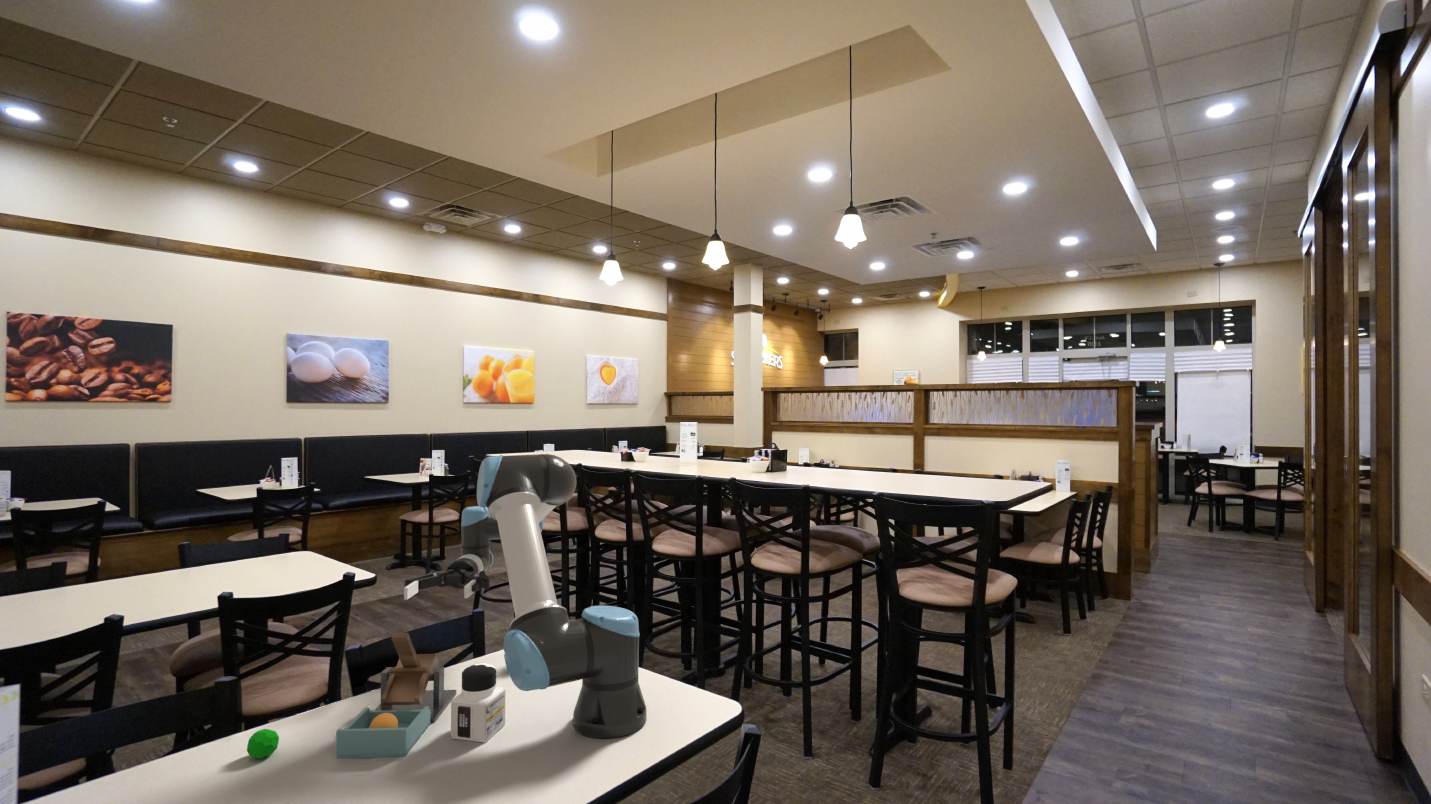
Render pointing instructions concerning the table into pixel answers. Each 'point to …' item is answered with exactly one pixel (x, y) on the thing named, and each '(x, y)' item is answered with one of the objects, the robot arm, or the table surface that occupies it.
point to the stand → (431, 698)
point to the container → (478, 705)
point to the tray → (381, 734)
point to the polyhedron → (262, 743)
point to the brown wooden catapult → (409, 673)
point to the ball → (384, 721)
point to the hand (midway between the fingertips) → (435, 593)
